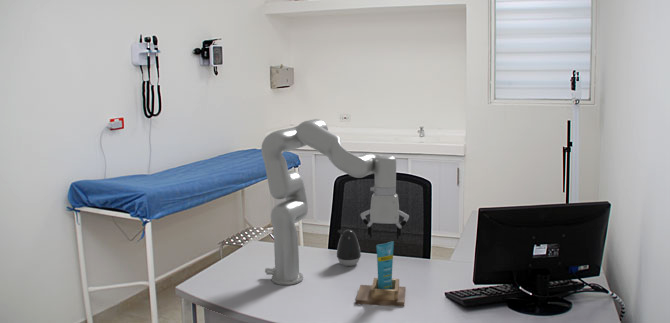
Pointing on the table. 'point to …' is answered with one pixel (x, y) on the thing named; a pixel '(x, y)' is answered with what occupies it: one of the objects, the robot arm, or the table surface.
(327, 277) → the table surface
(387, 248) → the tube
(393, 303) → the tube stand
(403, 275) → the table surface
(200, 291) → the table surface
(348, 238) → the dark grey egg-shaped piece
